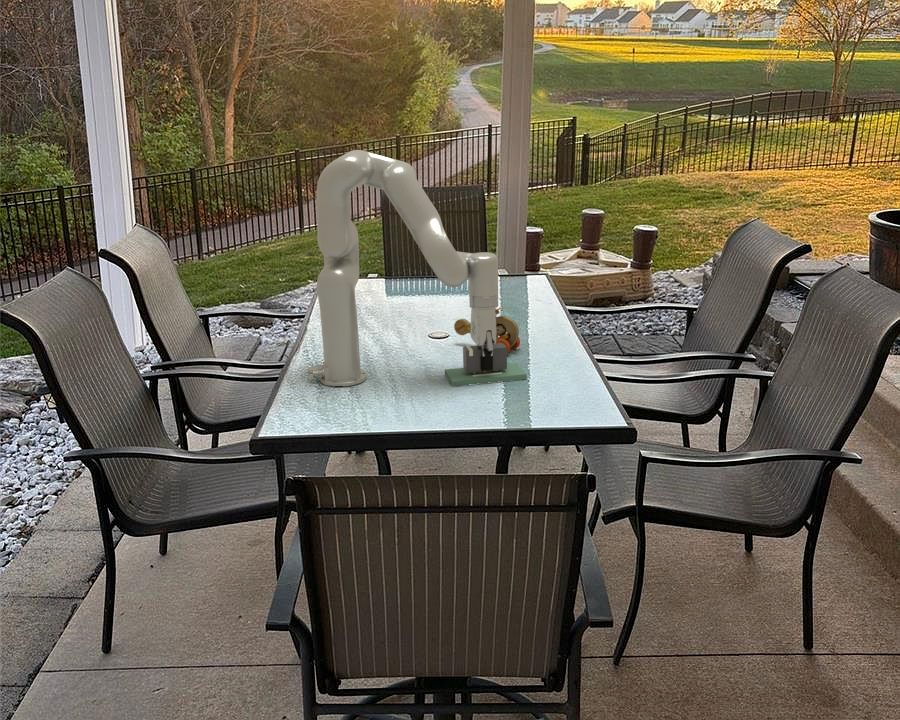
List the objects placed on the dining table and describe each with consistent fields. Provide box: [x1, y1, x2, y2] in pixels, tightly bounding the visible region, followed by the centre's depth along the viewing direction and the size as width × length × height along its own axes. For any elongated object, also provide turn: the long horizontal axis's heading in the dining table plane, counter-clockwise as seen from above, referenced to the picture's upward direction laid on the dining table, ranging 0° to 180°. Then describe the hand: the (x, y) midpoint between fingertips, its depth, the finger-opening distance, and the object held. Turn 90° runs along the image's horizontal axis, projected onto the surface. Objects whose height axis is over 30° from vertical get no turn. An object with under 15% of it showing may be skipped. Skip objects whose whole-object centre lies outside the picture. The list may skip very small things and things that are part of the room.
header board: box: [444, 362, 528, 388], centre depth 233 cm, size 20×10×6 cm, turn 102°
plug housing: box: [462, 343, 508, 373], centre depth 232 cm, size 11×4×6 cm, turn 102°
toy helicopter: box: [453, 306, 521, 355], centre depth 255 cm, size 8×21×14 cm, turn 59°
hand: (484, 366), depth 233 cm, fingers closed on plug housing, 3 cm apart
